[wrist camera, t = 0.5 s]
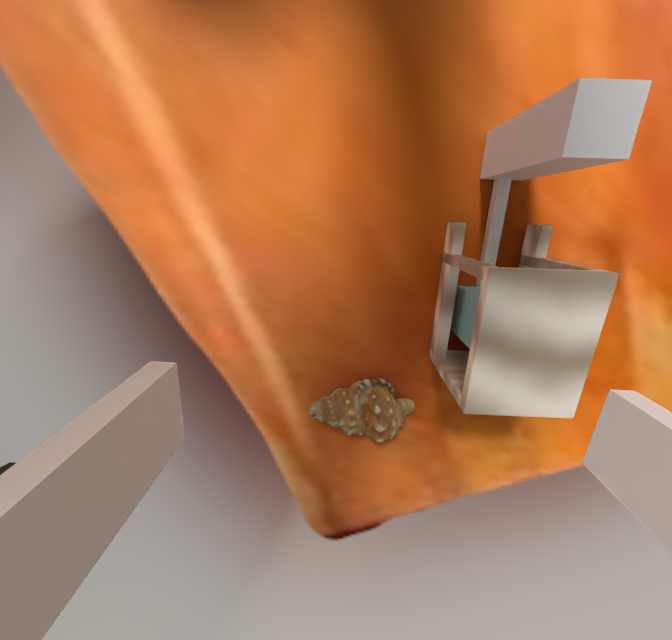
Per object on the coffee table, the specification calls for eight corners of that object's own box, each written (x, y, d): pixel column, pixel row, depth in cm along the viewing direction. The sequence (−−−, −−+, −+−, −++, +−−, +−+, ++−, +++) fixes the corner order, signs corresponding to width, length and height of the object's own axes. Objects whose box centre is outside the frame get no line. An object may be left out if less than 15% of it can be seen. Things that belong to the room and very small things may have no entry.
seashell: (347, 417, 43) (306, 453, 34) (349, 360, 42) (306, 382, 33) (414, 435, 39) (386, 482, 30) (418, 372, 37) (390, 401, 29)
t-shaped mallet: (481, 132, 29) (571, 77, 18) (536, 133, 29) (661, 80, 18) (450, 329, 35) (502, 383, 24) (495, 330, 35) (568, 386, 24)
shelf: (447, 221, 32) (499, 224, 21) (537, 224, 31) (633, 229, 21) (429, 356, 36) (463, 413, 26) (506, 359, 36) (573, 418, 26)
